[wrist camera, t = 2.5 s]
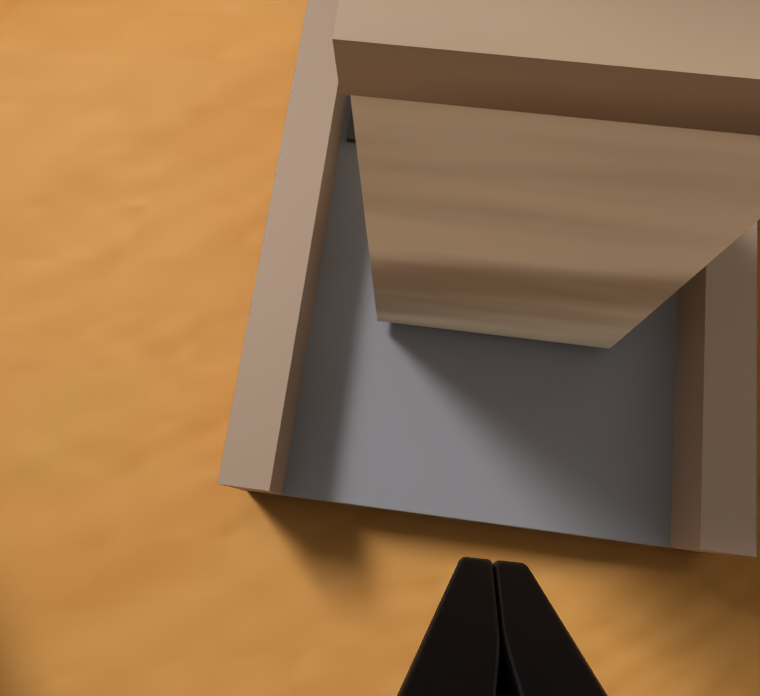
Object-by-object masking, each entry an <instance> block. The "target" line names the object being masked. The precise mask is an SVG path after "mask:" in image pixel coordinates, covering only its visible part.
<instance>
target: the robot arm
mask: <svg viewBox="0 0 760 696" xmlns="http://www.w3.org/2000/svg"><path fill="white" fill-rule="evenodd" d="M397 696H607V694H606V692H605V691H604V689H603V688H602V686H601V684H600V683H599V681H598V679H597V678H596V676H595V675H594V673H593V671H592V670H591V668H590V667H589V665H588V663H587V662H586V660H585V658H584V657H583V655H582V654H581V652H580V650H579V649H578V647H577V646H576V644H575V642H574V641H573V639H572V637H571V636H570V634H569V633H568V631H567V629H566V628H565V626H564V624H563V623H562V621H561V620H560V618H559V616H558V615H557V613H556V612H555V610H554V608H553V607H552V605H551V603H550V602H549V600H548V599H547V597H546V595H545V594H544V592H543V591H542V589H541V587H540V586H539V584H538V582H537V581H536V579H535V578H534V576H533V574H532V573H531V571H530V570H529V568H528V567H527V566H526V565H525V564H523V563H518V562H508V561H496V562H494V564H492V562H491V561H490V560H488V559H480V558H470V557H463V558H461V559H460V560H459V562H458V564H457V567H456V569H455V571H454V573H453V575H452V577H451V580H450V582H449V584H448V586H447V588H446V590H445V593H444V595H443V597H442V599H441V601H440V603H439V606H438V608H437V610H436V612H435V614H434V616H433V619H432V621H431V623H430V625H429V627H428V629H427V632H426V634H425V636H424V638H423V640H422V643H421V645H420V647H419V649H418V651H417V653H416V656H415V658H414V660H413V662H412V664H411V666H410V669H409V671H408V673H407V675H406V677H405V679H404V682H403V684H402V686H401V688H400V690H399V692H398V695H397Z"/></svg>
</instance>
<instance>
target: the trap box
mask: <svg viewBox="0 0 760 696" xmlns="http://www.w3.org/2000/svg"><path fill="white" fill-rule="evenodd" d="M338 3H339V0H308V3H307V9H306V14H305V19H304V25H303V30H302V35H301V41H300V46H299V51H298V57H297V62H296V68H295V73H294V78H293V84H292V89H291V94H290V100H289V105H288V110H287V116H286V121H285V126H284V132H283V137H282V142H281V148H280V153H279V158H278V164H277V169H276V174H275V180H274V185H273V191H272V196H271V201H270V207H269V212H268V217H267V223H266V228H265V233H264V239H263V244H262V249H261V255H260V260H259V265H258V271H257V276H256V281H255V287H254V292H253V297H252V303H251V308H250V314H249V319H248V324H247V330H246V335H245V340H244V346H243V351H242V356H241V362H240V367H239V372H238V378H237V383H236V388H235V394H234V399H233V404H232V410H231V415H230V420H229V426H228V431H227V437H226V442H225V447H224V453H223V458H222V463H221V469H220V474H219V479H218V484H220V485H224V486H229V487H233V488H237V489H241V490H245V491H252V492H260V493H267V494H274V495H282V496H289V497H296V498H304V499H311V500H318V501H326V502H333V503H340V504H348V505H355V506H362V507H370V508H377V509H384V510H392V511H399V512H406V513H414V514H421V515H428V516H436V517H443V518H451V519H458V520H465V521H473V522H480V523H487V524H495V525H502V526H509V527H517V528H524V529H531V530H539V531H546V532H553V533H561V534H568V535H575V536H583V537H590V538H597V539H605V540H612V541H620V542H627V543H634V544H642V545H649V546H656V547H664V548H671V549H678V550H686V551H693V552H701V553H713V554H725V555H737V556H749V557H757V222H756V223H755V224H754V225H752V226H751V227H750V228H749V229H748V230H747V231H745V232H744V233H743V234H742V235H741V236H740V237H738V238H737V239H736V240H735V241H734V242H733V243H732V244H730V245H729V246H728V247H727V248H726V249H725V250H723V251H722V252H721V253H720V254H719V255H718V256H716V257H715V258H714V259H713V260H712V261H711V262H710V263H708V264H707V265H706V266H705V267H704V268H703V269H701V270H700V271H699V272H698V273H697V274H696V275H694V276H693V277H692V278H691V279H690V280H689V281H688V282H686V283H685V284H684V285H683V286H682V287H681V288H679V289H678V290H677V291H676V292H675V293H674V294H672V295H671V296H670V297H669V298H668V299H667V300H666V301H664V302H663V303H662V304H661V305H660V306H659V307H657V308H656V309H655V310H654V311H653V312H652V313H650V314H649V315H648V316H647V317H646V318H645V319H644V320H642V321H641V322H640V323H639V324H638V325H637V326H635V327H634V328H633V329H632V330H631V331H630V332H629V333H627V334H626V335H625V336H624V337H623V338H622V339H620V340H619V341H618V342H617V343H616V344H615V345H613V346H612V347H611V348H610V349H608V348H600V347H592V346H583V345H575V344H566V343H558V342H550V341H541V340H533V339H524V338H516V337H508V336H499V335H491V334H483V333H474V332H466V331H457V330H449V329H441V328H432V327H424V326H415V325H407V324H399V323H390V322H382V321H377V314H376V306H375V297H374V289H373V281H372V272H371V264H370V256H369V247H368V239H367V231H366V222H365V214H364V206H363V197H362V189H361V181H360V172H359V164H358V156H357V147H356V139H355V131H354V122H353V114H352V105H351V97H350V95H344V94H340V90H339V83H338V76H337V69H336V62H335V55H334V48H333V41H332V38H333V32H334V26H335V20H336V15H337V9H338Z"/></svg>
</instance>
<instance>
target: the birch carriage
mask: <svg viewBox="0 0 760 696" xmlns="http://www.w3.org/2000/svg"><path fill="white" fill-rule="evenodd" d="M332 41H333V48H334V55H335V62H336V69H337V76H338V83H339V90H340V94H344V95H350V97H351V105H352V114H353V122H354V131H355V139H356V147H357V156H358V164H359V172H360V181H361V189H362V197H363V206H364V214H365V222H366V231H367V239H368V247H369V256H370V264H371V272H372V281H373V289H374V297H375V306H376V314H377V321H382V322H390V323H399V324H407V325H415V326H424V327H432V328H441V329H449V330H457V331H466V332H474V333H483V334H491V335H499V336H508V337H516V338H524V339H533V340H541V341H550V342H558V343H566V344H575V345H583V346H592V347H600V348H608V349H610V348H611V347H612V346H613V345H615V344H616V343H617V342H618V341H619V340H620V339H622V338H623V337H624V336H625V335H626V334H627V333H629V332H630V331H631V330H632V329H633V328H634V327H635V326H637V325H638V324H639V323H640V322H641V321H642V320H644V319H645V318H646V317H647V316H648V315H649V314H650V313H652V312H653V311H654V310H655V309H656V308H657V307H659V306H660V305H661V304H662V303H663V302H664V301H666V300H667V299H668V298H669V297H670V296H671V295H672V294H674V293H675V292H676V291H677V290H678V289H679V288H681V287H682V286H683V285H684V284H685V283H686V282H688V281H689V280H690V279H691V278H692V277H693V276H694V275H696V274H697V273H698V272H699V271H700V270H701V269H703V268H704V267H705V266H706V265H707V264H708V263H710V262H711V261H712V260H713V259H714V258H715V257H716V256H718V255H719V254H720V253H721V252H722V251H723V250H725V249H726V248H727V247H728V246H729V245H730V244H732V243H733V242H734V241H735V240H736V239H737V238H738V237H740V236H741V235H742V234H743V233H744V232H745V231H747V230H748V229H749V228H750V227H751V226H752V225H754V224H755V223H756V222H757V221H758V220H759V219H760V0H339V3H338V9H337V15H336V20H335V26H334V32H333V38H332Z"/></svg>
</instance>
